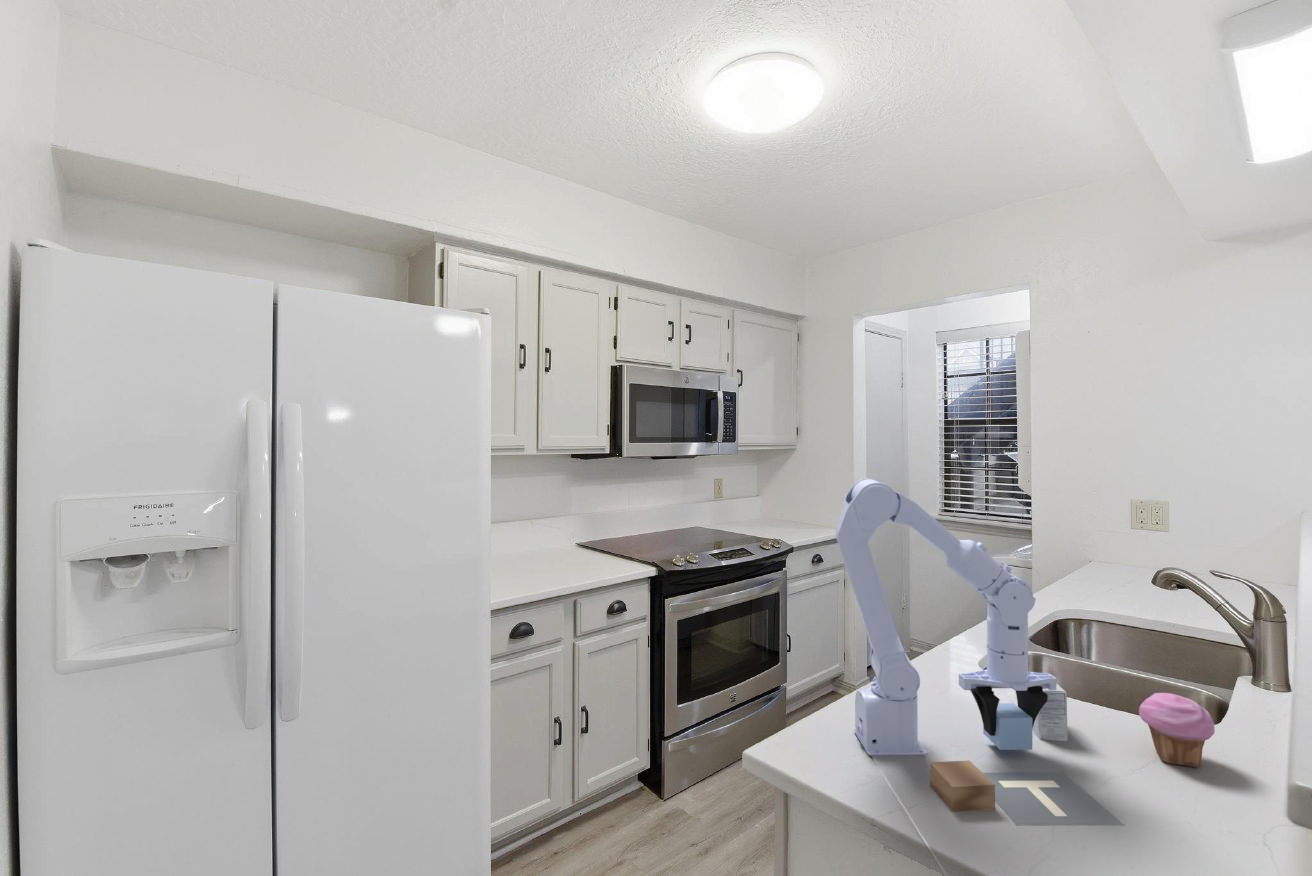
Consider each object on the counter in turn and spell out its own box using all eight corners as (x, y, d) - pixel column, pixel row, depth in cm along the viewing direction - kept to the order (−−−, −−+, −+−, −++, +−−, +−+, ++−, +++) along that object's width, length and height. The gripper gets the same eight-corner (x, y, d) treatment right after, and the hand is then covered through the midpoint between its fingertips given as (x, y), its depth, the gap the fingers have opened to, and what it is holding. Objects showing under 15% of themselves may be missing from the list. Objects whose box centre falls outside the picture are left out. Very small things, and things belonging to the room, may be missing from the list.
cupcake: (1151, 768, 92) (1151, 703, 91) (1130, 740, 100) (1130, 681, 99) (1226, 780, 88) (1226, 713, 88) (1198, 750, 96) (1198, 688, 96)
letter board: (1016, 828, 79) (1016, 825, 79) (970, 775, 91) (970, 772, 91) (1124, 828, 78) (1124, 824, 78) (1063, 774, 90) (1063, 771, 90)
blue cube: (1000, 749, 94) (1000, 718, 94) (983, 733, 99) (983, 703, 99) (1032, 749, 94) (1032, 718, 94) (1013, 733, 99) (1013, 703, 99)
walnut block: (952, 816, 82) (952, 787, 81) (929, 789, 88) (929, 762, 87) (995, 813, 82) (994, 784, 82) (969, 787, 88) (969, 760, 88)
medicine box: (1068, 744, 99) (1068, 692, 99) (1038, 741, 100) (1038, 690, 100) (1047, 721, 107) (1047, 672, 106) (1019, 719, 108) (1019, 671, 107)
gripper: (974, 658, 92) (974, 745, 92) (1069, 658, 92) (1069, 745, 92) (952, 642, 99) (952, 723, 99) (1040, 641, 99) (1040, 722, 99)
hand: (1007, 732), depth 96 cm, fingers closed on blue cube, 5 cm apart
